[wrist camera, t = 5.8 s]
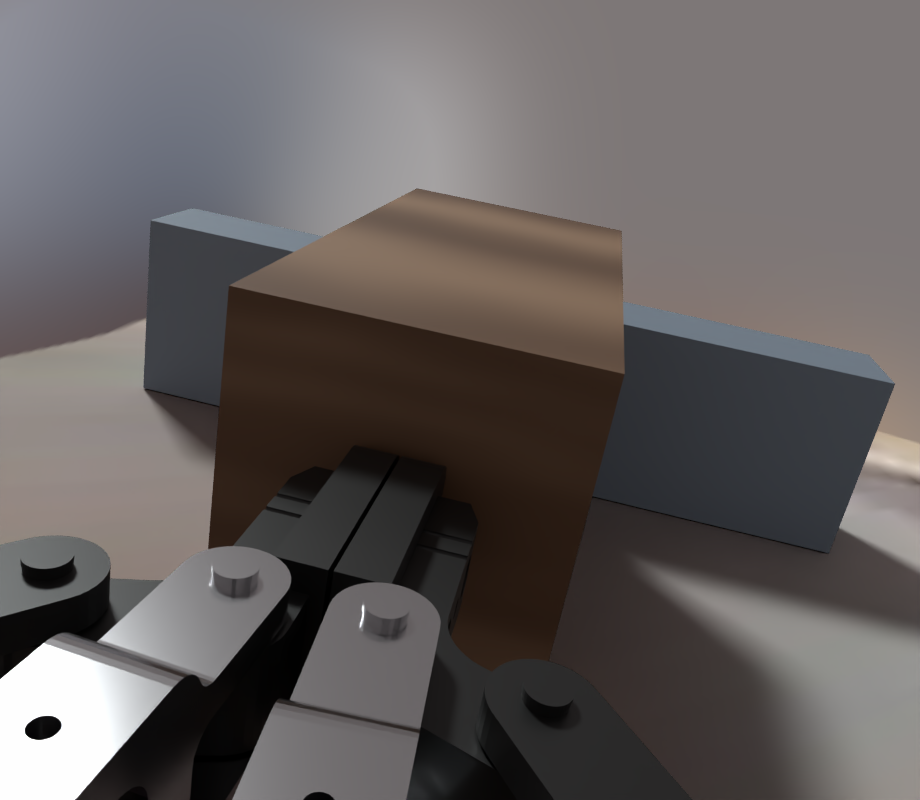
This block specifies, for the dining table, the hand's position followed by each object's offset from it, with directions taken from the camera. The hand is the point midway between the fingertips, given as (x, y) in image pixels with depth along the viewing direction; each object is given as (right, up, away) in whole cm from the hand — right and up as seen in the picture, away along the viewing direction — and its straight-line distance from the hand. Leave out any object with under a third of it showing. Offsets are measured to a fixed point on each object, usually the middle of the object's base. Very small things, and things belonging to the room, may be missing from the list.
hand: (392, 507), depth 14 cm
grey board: (+2, 0, +17) cm, 17 cm away
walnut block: (0, -3, +8) cm, 9 cm away
